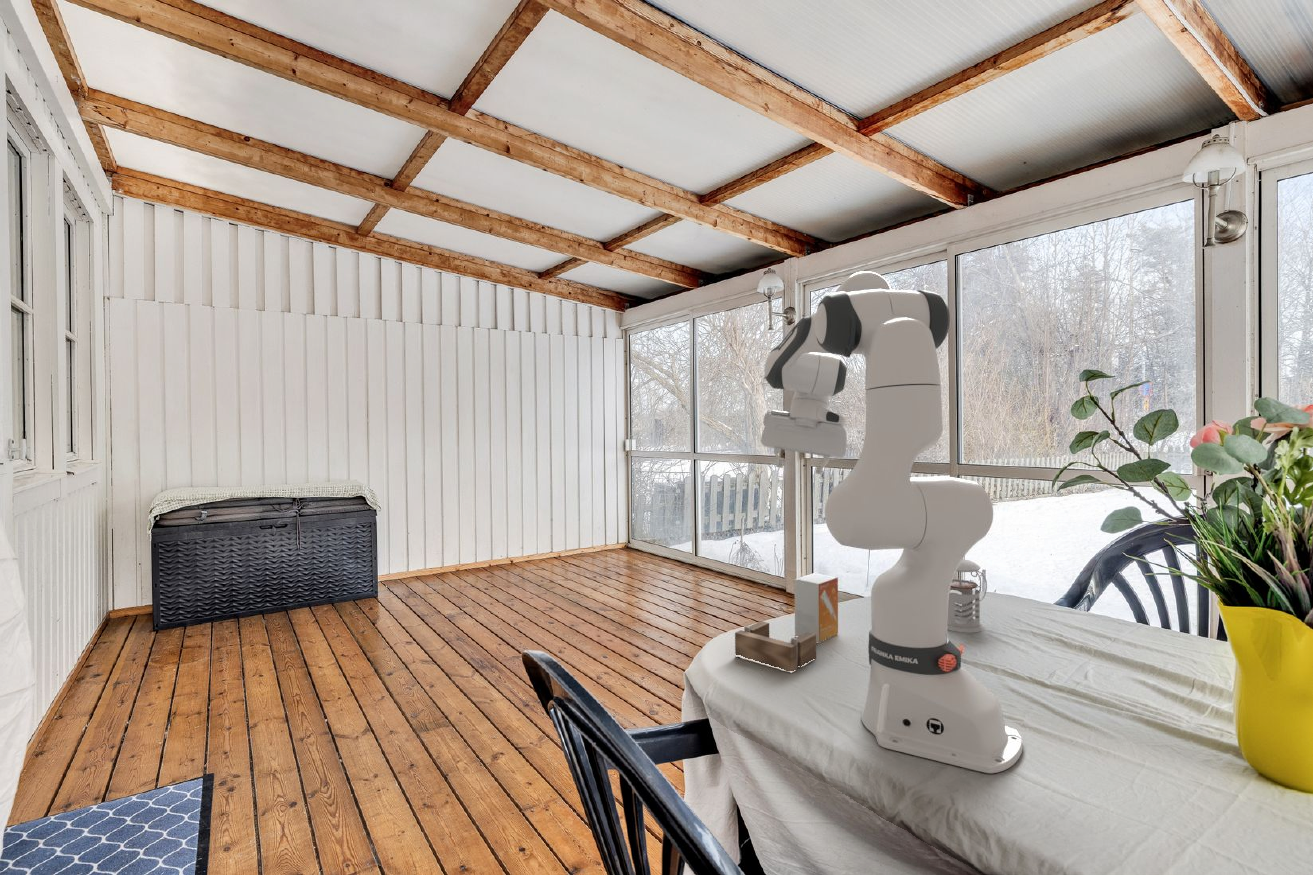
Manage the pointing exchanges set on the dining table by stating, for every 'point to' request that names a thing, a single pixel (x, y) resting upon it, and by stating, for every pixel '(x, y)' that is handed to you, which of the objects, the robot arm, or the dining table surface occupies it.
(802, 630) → the small box
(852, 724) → the dining table surface
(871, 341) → the robot arm
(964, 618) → the french press
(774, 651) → the brown u-shaped piece
